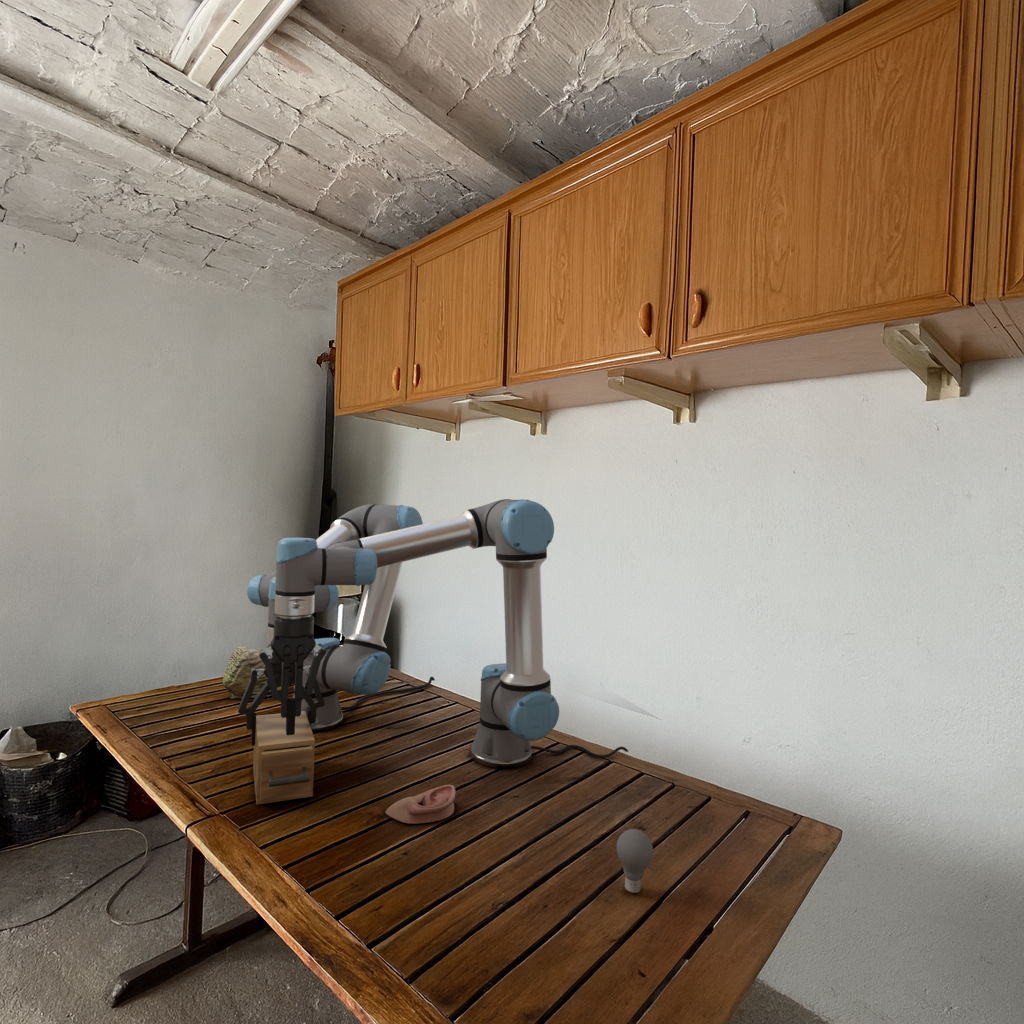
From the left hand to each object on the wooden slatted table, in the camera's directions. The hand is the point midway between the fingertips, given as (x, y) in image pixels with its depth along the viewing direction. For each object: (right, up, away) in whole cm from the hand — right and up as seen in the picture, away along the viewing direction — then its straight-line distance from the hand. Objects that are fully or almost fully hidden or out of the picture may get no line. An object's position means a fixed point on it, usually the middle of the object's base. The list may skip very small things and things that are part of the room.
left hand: (281, 740), depth 145 cm
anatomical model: (+34, -9, -15) cm, 38 cm away
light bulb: (+73, -11, -39) cm, 83 cm away
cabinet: (+2, -8, -4) cm, 9 cm away
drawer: (+4, -7, -9) cm, 12 cm away
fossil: (-28, -5, +54) cm, 61 cm away
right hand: (+8, +8, -18) cm, 21 cm away
